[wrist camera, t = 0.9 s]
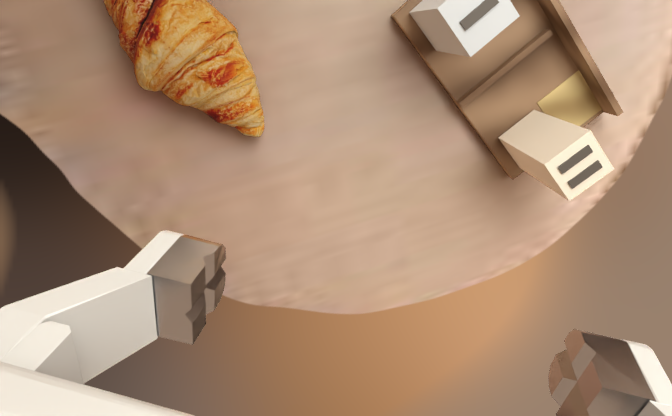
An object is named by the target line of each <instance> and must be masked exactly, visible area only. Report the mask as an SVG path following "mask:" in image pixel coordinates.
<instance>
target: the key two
mask: <svg viewBox="0 0 672 416" xmlns="http://www.w3.org/2000/svg"><path fill="white" fill-rule="evenodd" d="M498 138H499V140H500V141H501V142H502V144H503V145H504V147H505V148H506V149H507V151H508V152H509V154H510V155H511V156H512V158H513V159H514V161H515V162H516V163H517V165H518V166H519V168H520V169H522V170H523V171H525V172H526V173H528V174H529V175H531V176H532V177H534V178H535V179H537V180H538V181H540V182H541V183H543V184H544V185H546V186H547V187H549V188H550V189H552V190H553V191H555V192H556V193H558V194H559V195H561V196H562V197H564V198H565V199H567V200H568V201H570V200H572V199H573V198H575V197H576V196H577V195H579V194H580V193H582V192H583V191H584V190H586V189H587V188H589V187H590V186H591V185H593V184H594V183H596V182H597V181H598V180H600V179H601V178H603V177H604V176H605V175H607V174H608V173H610V172H611V171H612V170H614V168H613V166H612V164H611V163H610V161H609V160H608V158H607V156H606V155H605V153H604V151H603V150H602V148H601V147H600V145H599V143H598V142H597V140H596V139H595V137H594V135H593V134H592V132H591V130H588V129H585V128H583V127H580V126H577V125H574V124H572V123H569V122H566V121H563V120H561V119H558V118H555V117H553V116H550V115H547V114H544V113H542V112H539V111H536V110H533V111H532V112H531V113H529V114H528V115H527V116H525V117H524V118H523V119H522V120H520V121H519V122H518V123H516V124H515V125H514V126H513V127H511V128H510V129H509V130H507V131H506V132H505V133H503V134H502V135H501V136H500V137H498Z"/></svg>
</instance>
